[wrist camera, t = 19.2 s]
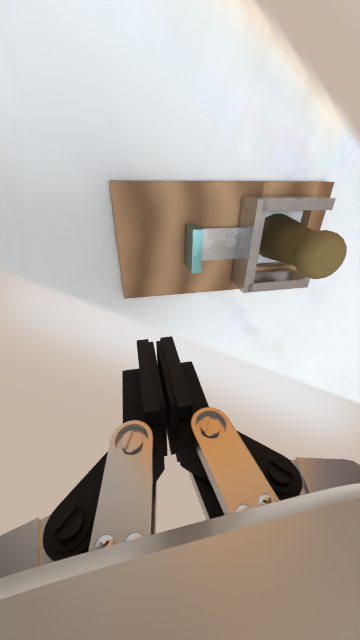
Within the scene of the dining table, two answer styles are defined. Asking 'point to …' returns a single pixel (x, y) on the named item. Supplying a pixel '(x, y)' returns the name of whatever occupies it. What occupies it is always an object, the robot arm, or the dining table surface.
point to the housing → (249, 242)
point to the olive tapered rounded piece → (302, 246)
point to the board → (170, 226)
